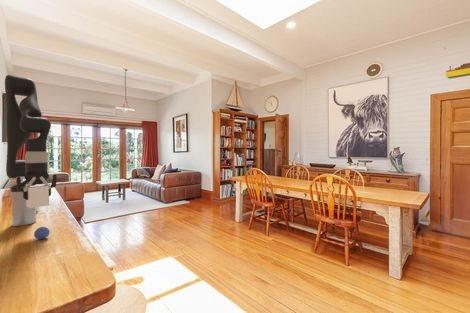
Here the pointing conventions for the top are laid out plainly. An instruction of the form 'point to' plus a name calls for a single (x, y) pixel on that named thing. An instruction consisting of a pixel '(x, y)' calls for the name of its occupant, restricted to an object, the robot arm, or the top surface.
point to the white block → (38, 196)
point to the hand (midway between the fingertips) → (37, 198)
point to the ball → (41, 233)
